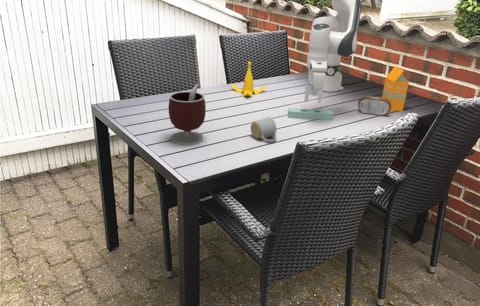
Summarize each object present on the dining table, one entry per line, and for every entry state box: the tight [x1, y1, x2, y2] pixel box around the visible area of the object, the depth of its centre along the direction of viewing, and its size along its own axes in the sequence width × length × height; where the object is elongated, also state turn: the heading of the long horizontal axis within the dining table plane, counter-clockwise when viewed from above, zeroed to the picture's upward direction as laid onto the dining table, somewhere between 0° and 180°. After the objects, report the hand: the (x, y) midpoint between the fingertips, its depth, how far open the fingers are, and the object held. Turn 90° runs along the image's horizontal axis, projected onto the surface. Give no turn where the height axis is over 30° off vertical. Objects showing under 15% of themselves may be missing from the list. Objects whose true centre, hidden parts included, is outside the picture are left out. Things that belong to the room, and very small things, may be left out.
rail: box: [287, 107, 334, 121], centre depth 192 cm, size 5×20×3 cm, turn 88°
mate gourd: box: [168, 83, 207, 146], centre depth 160 cm, size 16×14×20 cm
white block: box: [303, 84, 325, 104], centre depth 187 cm, size 8×2×8 cm, turn 88°
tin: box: [357, 95, 391, 117], centre depth 198 cm, size 15×3×8 cm, turn 71°
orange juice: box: [381, 66, 410, 112], centre depth 206 cm, size 8×9×20 cm
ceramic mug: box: [250, 116, 277, 143], centre depth 166 cm, size 11×8×8 cm
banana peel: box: [230, 61, 267, 97], centre depth 220 cm, size 17×19×17 cm
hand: (313, 94), depth 187 cm, fingers closed on white block, 2 cm apart
